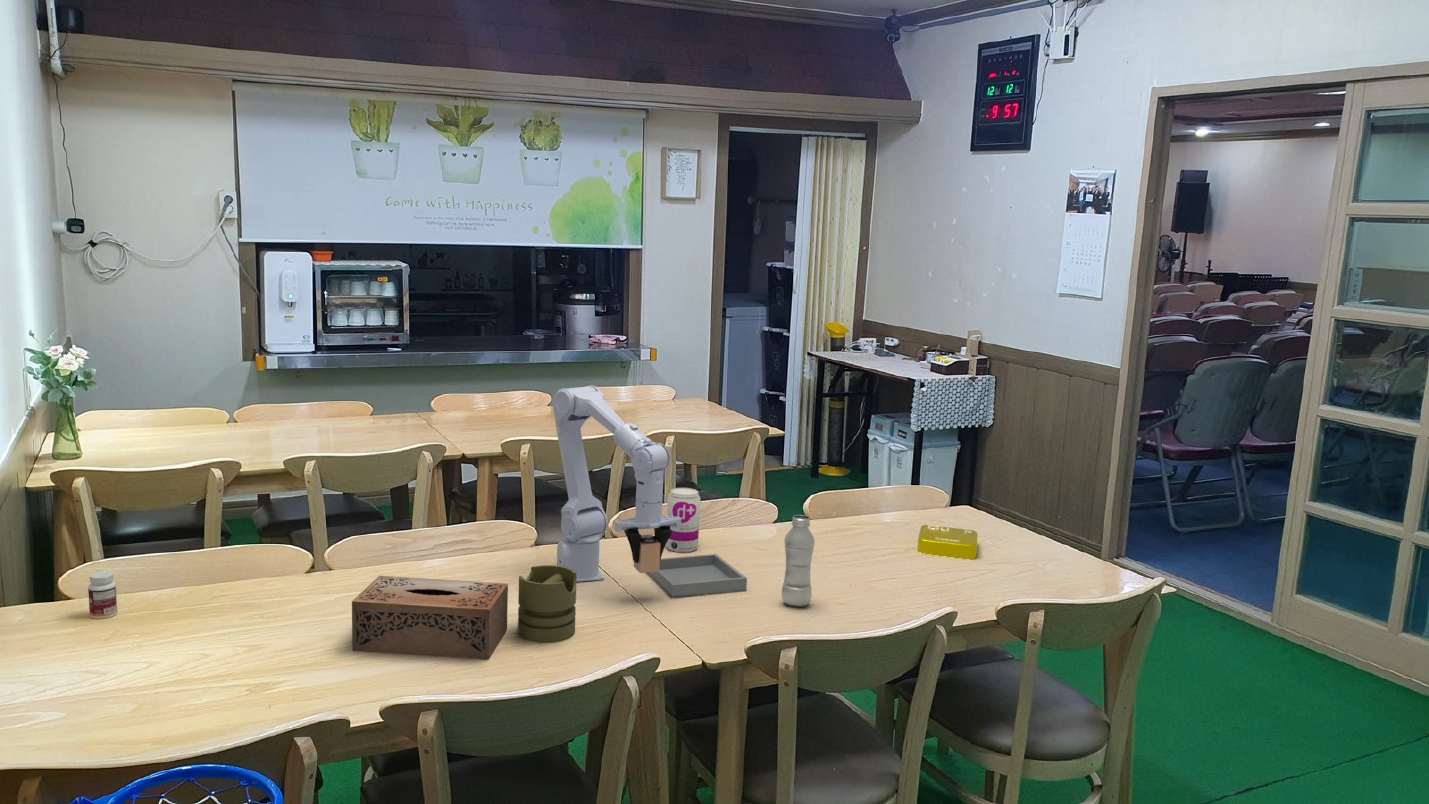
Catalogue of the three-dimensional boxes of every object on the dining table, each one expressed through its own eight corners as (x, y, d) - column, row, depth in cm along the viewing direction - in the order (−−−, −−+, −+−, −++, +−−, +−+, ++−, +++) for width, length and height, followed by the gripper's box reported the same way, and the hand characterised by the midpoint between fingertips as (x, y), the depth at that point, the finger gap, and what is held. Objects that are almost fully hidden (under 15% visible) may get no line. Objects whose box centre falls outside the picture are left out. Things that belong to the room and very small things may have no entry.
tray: (672, 598, 232) (672, 585, 231) (645, 572, 248) (646, 559, 247) (746, 590, 239) (746, 578, 238) (715, 565, 255) (716, 553, 254)
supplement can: (697, 554, 263) (700, 496, 261) (664, 552, 263) (667, 494, 261) (698, 544, 271) (701, 488, 269) (666, 542, 271) (669, 486, 269)
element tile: (916, 555, 273) (918, 537, 272) (919, 539, 287) (921, 522, 286) (975, 562, 269) (977, 544, 269) (976, 545, 284) (977, 528, 283)
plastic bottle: (809, 611, 228) (815, 522, 224) (778, 607, 229) (784, 519, 226) (812, 601, 234) (818, 514, 231) (782, 598, 235) (788, 511, 232)
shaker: (640, 573, 226) (641, 541, 225) (633, 566, 230) (634, 535, 229) (659, 571, 228) (660, 539, 227) (652, 565, 232) (653, 533, 231)
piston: (508, 579, 204) (534, 562, 214) (507, 638, 206) (532, 618, 216) (562, 587, 201) (585, 569, 211) (561, 646, 203) (583, 626, 213)
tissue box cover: (507, 631, 209) (507, 583, 208) (488, 661, 195) (489, 609, 194) (379, 623, 210) (379, 575, 209) (352, 652, 196) (351, 601, 194)
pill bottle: (92, 611, 208) (89, 571, 207) (119, 609, 210) (117, 569, 208) (87, 620, 204) (85, 579, 202) (115, 618, 205) (113, 577, 204)
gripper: (622, 507, 220) (620, 569, 222) (687, 503, 226) (684, 563, 228) (612, 498, 226) (610, 558, 229) (675, 494, 232) (672, 553, 234)
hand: (646, 560), depth 229 cm, fingers closed on shaker, 4 cm apart
